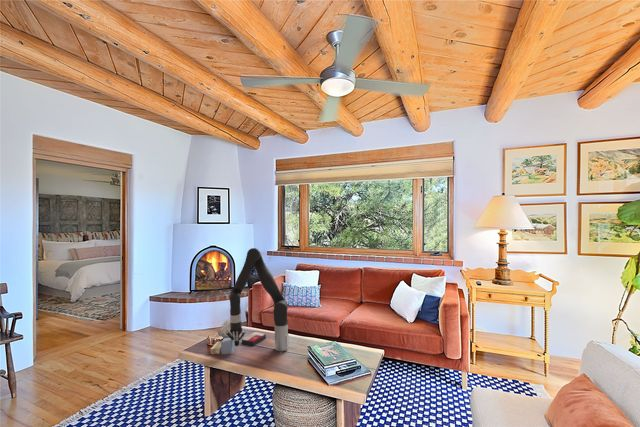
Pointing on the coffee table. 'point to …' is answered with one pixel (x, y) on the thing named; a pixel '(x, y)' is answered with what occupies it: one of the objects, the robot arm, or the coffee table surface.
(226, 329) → the fossil
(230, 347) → the block
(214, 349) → the tan lumpy piece
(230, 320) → the robot arm
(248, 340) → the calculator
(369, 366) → the coffee table surface
